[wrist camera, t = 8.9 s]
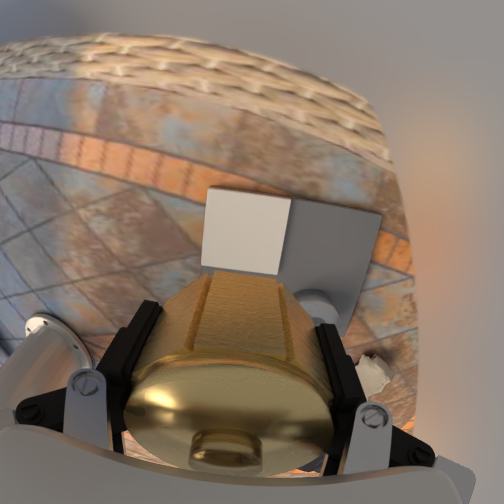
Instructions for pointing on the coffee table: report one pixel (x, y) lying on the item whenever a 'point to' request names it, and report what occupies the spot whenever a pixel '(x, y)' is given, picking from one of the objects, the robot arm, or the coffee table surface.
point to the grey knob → (318, 307)
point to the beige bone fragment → (373, 374)
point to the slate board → (323, 251)
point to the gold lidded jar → (232, 380)
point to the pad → (244, 230)
